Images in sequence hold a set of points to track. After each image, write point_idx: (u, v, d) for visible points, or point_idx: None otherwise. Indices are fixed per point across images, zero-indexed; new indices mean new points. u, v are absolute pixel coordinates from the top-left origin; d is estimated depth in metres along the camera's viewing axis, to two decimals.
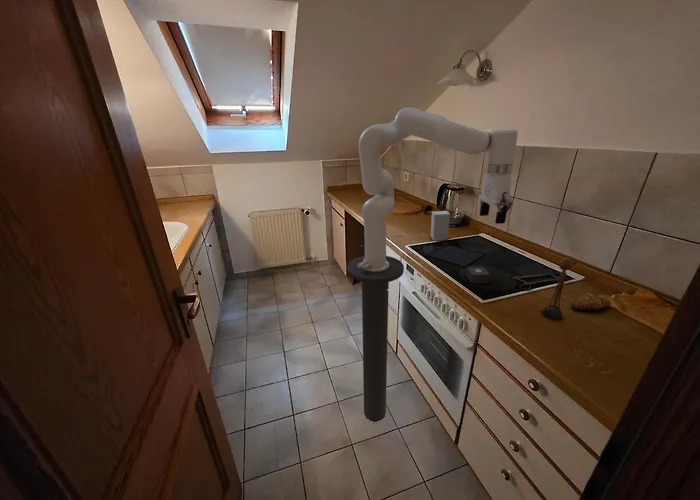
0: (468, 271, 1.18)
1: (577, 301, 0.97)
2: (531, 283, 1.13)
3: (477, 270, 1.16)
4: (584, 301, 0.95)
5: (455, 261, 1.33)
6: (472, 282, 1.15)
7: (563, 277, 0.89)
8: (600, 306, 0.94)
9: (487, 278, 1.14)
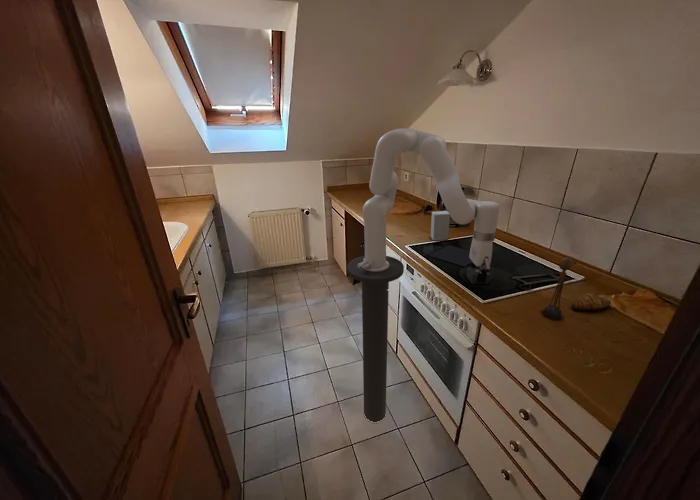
0: (468, 271, 1.18)
1: (577, 301, 0.97)
2: (531, 283, 1.13)
3: (477, 270, 1.16)
4: (584, 301, 0.95)
5: (455, 261, 1.33)
6: (472, 282, 1.15)
7: (563, 277, 0.89)
8: (600, 306, 0.94)
9: (487, 278, 1.14)
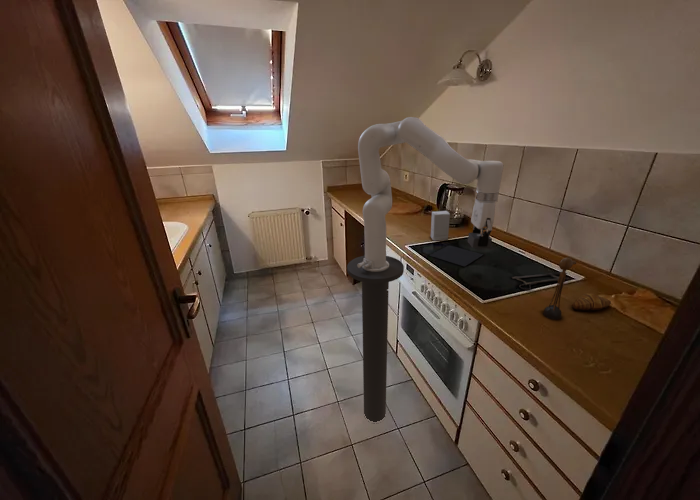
0: (470, 236, 1.15)
1: (577, 301, 0.97)
2: (531, 283, 1.13)
3: (479, 235, 1.13)
4: (584, 301, 0.95)
5: (455, 261, 1.33)
6: (473, 246, 1.11)
7: (563, 277, 0.89)
8: (600, 306, 0.94)
9: (489, 242, 1.10)
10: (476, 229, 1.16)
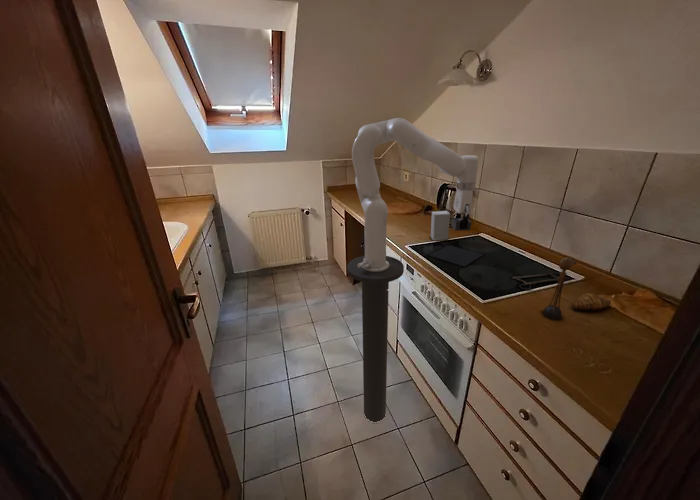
0: (453, 221, 1.33)
1: (577, 301, 0.97)
2: (531, 283, 1.13)
3: (460, 219, 1.32)
4: (584, 301, 0.95)
5: (455, 261, 1.33)
6: (456, 229, 1.30)
7: (563, 277, 0.89)
8: (600, 306, 0.94)
9: (469, 225, 1.29)
10: (458, 215, 1.34)
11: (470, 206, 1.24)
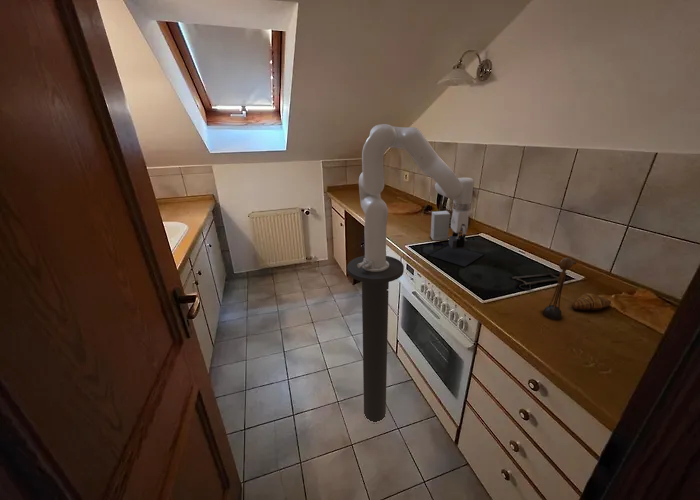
0: (450, 239, 1.38)
1: (577, 301, 0.97)
2: (531, 283, 1.13)
3: (457, 238, 1.37)
4: (584, 301, 0.95)
5: (455, 261, 1.33)
6: (453, 247, 1.35)
7: (563, 277, 0.89)
8: (600, 306, 0.94)
9: (465, 244, 1.34)
10: (455, 233, 1.39)
11: (466, 226, 1.29)
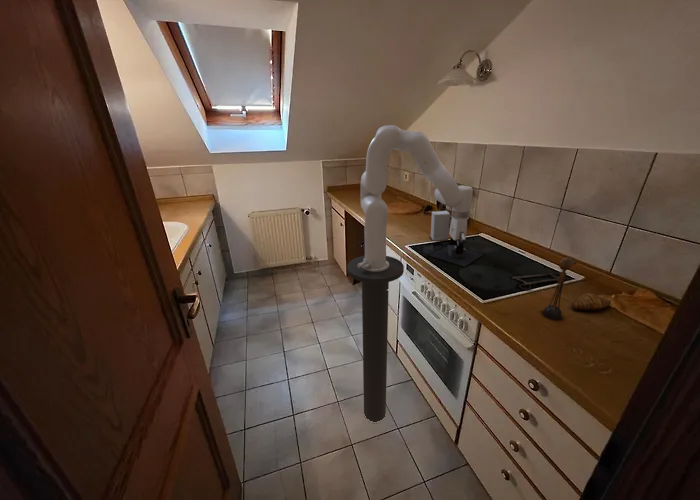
0: (449, 248, 1.40)
1: (577, 301, 0.97)
2: (531, 283, 1.13)
3: None
4: (584, 301, 0.95)
5: (455, 261, 1.33)
6: (451, 256, 1.37)
7: (563, 277, 0.89)
8: (600, 306, 0.94)
9: (464, 253, 1.36)
10: (453, 238, 1.42)
11: (465, 234, 1.31)
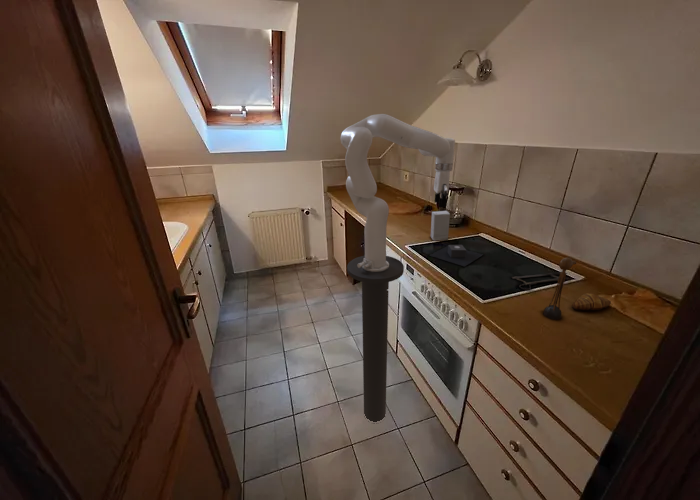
0: (449, 248, 1.40)
1: (577, 301, 0.97)
2: (531, 283, 1.13)
3: (456, 246, 1.38)
4: (584, 301, 0.95)
5: (455, 261, 1.33)
6: (451, 256, 1.37)
7: (563, 277, 0.89)
8: (600, 306, 0.94)
9: (464, 253, 1.36)
10: (437, 194, 1.43)
11: (447, 186, 1.32)
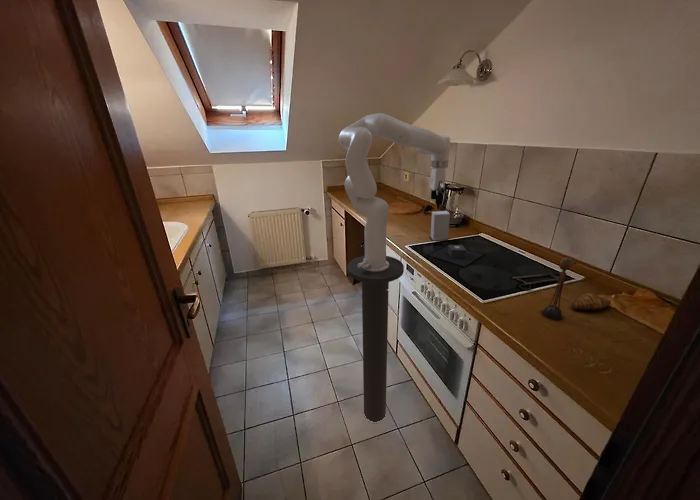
0: (449, 248, 1.40)
1: (577, 301, 0.97)
2: (531, 283, 1.13)
3: (456, 246, 1.38)
4: (584, 301, 0.95)
5: (455, 261, 1.33)
6: (451, 256, 1.37)
7: (563, 277, 0.89)
8: (600, 306, 0.94)
9: (464, 253, 1.36)
10: (433, 191, 1.45)
11: (443, 183, 1.34)
